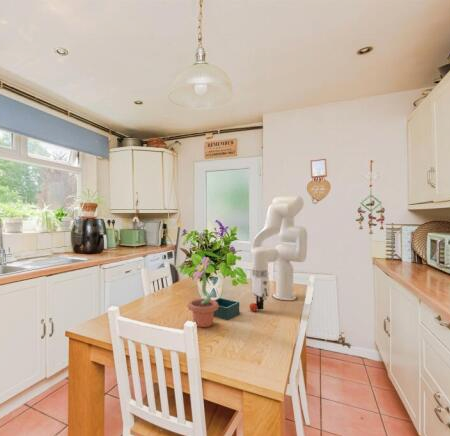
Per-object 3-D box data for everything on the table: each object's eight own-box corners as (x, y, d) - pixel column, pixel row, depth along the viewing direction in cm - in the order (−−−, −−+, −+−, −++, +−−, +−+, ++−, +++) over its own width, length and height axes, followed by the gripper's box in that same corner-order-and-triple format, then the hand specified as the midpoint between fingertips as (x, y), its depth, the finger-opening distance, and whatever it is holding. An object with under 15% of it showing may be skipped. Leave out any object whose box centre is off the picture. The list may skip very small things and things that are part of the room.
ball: (252, 308, 143) (251, 301, 143) (259, 309, 140) (258, 302, 140) (248, 312, 140) (247, 304, 140) (256, 313, 137) (254, 305, 137)
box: (219, 308, 144) (219, 297, 144) (239, 313, 137) (239, 302, 137) (206, 314, 135) (206, 302, 135) (227, 319, 128) (227, 308, 128)
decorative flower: (184, 318, 129) (184, 254, 129) (212, 316, 132) (212, 254, 132) (191, 331, 115) (191, 259, 114) (222, 329, 117) (223, 259, 117)
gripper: (274, 275, 134) (274, 313, 135) (259, 270, 149) (258, 303, 149) (261, 276, 133) (260, 314, 133) (246, 270, 147) (246, 304, 147)
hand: (259, 308), depth 141 cm, fingers closed
